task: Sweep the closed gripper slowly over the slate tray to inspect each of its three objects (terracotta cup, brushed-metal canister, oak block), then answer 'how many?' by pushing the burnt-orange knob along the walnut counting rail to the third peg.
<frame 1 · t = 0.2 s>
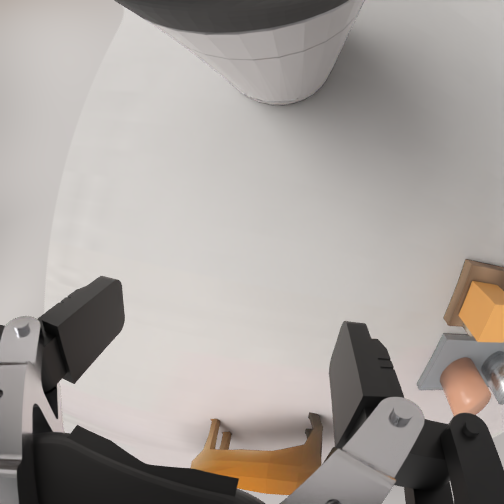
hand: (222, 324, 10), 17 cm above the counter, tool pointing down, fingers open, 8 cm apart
metal canister: (492, 363, 27), point 1 cm above the counter, touching slate tray
toy: (267, 431, 37), on the counter
slate tray: (487, 360, 28), on the counter
terracotta cup: (456, 372, 28), point 1 cm above the counter, touching slate tray
counter knob: (488, 311, 22), point 4 cm above the counter, slide at 0.0 cm
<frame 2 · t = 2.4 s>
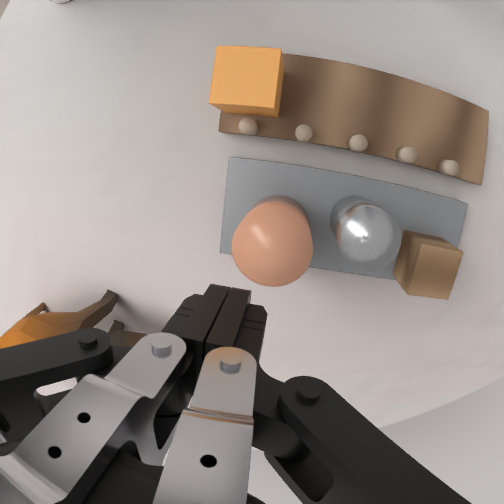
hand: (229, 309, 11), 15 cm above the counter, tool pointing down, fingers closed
oak block: (417, 255, 23), point 1 cm above the counter, touching slate tray
metal canister: (354, 220, 23), point 1 cm above the counter, touching slate tray
toy: (84, 324, 33), on the counter
slate tray: (350, 222, 24), on the counter
terracotta cup: (277, 226, 24), point 1 cm above the counter, touching slate tray
counter knob: (250, 83, 18), point 4 cm above the counter, slide at 0.0 cm
counting rail: (366, 112, 21), on the counter
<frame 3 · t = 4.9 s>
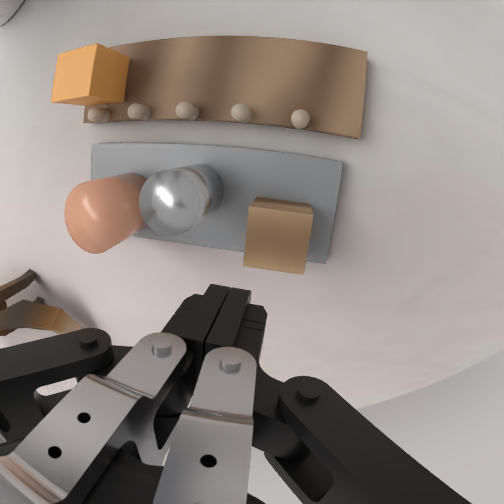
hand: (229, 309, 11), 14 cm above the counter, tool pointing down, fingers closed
oak block: (279, 225, 23), point 1 cm above the counter, touching slate tray
metal canister: (198, 190, 23), point 1 cm above the counter, touching slate tray
toy: (19, 302, 32), on the counter
slate tray: (202, 194, 24), on the counter
terracotta cup: (131, 202, 24), point 1 cm above the counter, touching slate tray
counter knob: (91, 77, 17), point 4 cm above the counter, slide at 0.0 cm
counting rail: (213, 79, 21), on the counter
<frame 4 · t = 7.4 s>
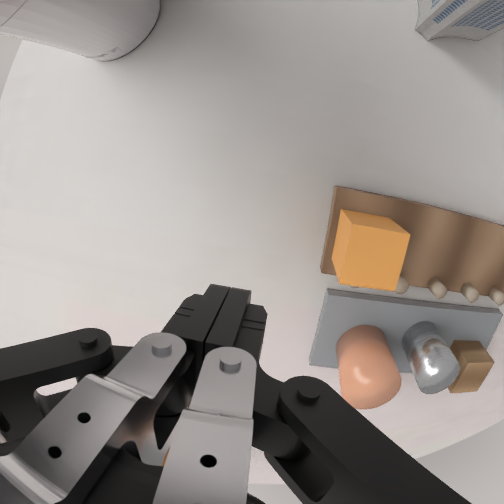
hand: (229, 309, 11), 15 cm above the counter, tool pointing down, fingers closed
oak block: (459, 355, 25), point 1 cm above the counter, touching slate tray
building model: (437, 13, 16), on the counter
metal canister: (419, 338, 25), point 1 cm above the counter, touching slate tray
slate tray: (414, 335, 26), on the counter
terracotta cup: (361, 346, 26), point 1 cm above the counter, touching slate tray
counter knob: (367, 247, 20), point 4 cm above the counter, slide at 0.0 cm
counting rail: (444, 248, 23), on the counter
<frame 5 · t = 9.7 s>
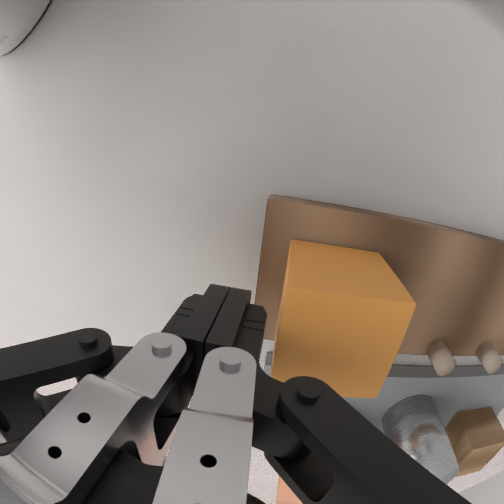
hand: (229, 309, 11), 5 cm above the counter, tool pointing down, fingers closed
oak block: (462, 425, 16), point 1 cm above the counter, touching slate tray
metal canister: (408, 414, 16), point 1 cm above the counter, touching slate tray
slate tray: (402, 407, 17), on the counter
terracotta cup: (321, 426, 17), point 1 cm above the counter, touching slate tray
counter knob: (332, 314, 11), point 4 cm above the counter, slide at 0.7 cm, touching gripper
counting rail: (456, 291, 14), on the counter
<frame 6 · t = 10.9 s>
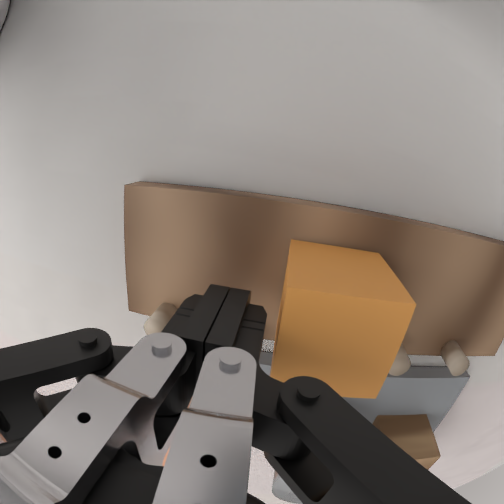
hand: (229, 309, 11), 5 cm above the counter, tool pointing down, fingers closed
oak block: (391, 432, 17), point 1 cm above the counter, touching slate tray
metal canister: (312, 411, 17), point 1 cm above the counter, touching slate tray
slate tray: (310, 403, 18), on the counter
counter knob: (332, 314, 11), point 4 cm above the counter, slide at 7.7 cm, touching gripper
counting rail: (349, 276, 15), on the counter
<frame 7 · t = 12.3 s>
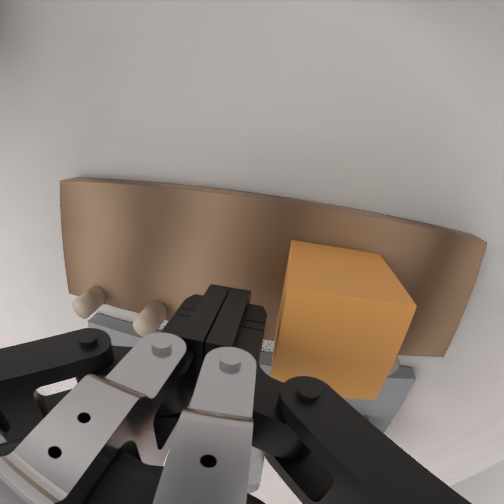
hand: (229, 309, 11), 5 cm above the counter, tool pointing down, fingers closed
metal canister: (239, 401, 17), point 1 cm above the counter, touching slate tray
slate tray: (242, 394, 18), on the counter
counter knob: (332, 315, 11), point 4 cm above the counter, slide at 12.3 cm, touching gripper
counting rail: (260, 263, 15), on the counter
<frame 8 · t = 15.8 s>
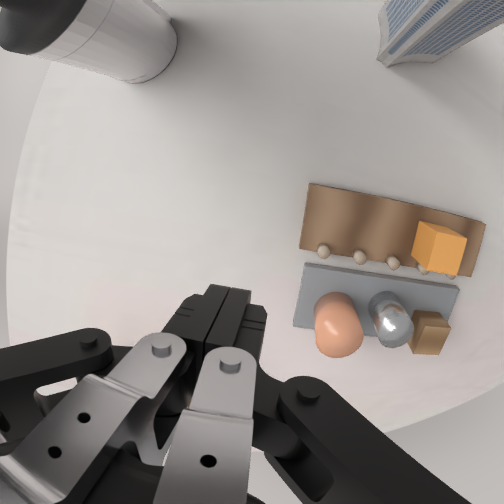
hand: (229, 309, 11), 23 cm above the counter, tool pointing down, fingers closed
oak block: (422, 324, 33), point 1 cm above the counter, touching slate tray
building model: (397, 42, 24), on the counter
metal canister: (383, 305, 33), point 1 cm above the counter, touching slate tray
slate tray: (379, 304, 35), on the counter
terracotta cup: (334, 310, 34), point 1 cm above the counter, touching slate tray
counter knob: (438, 247, 27), point 4 cm above the counter, slide at 12.3 cm
counting rail: (400, 231, 31), on the counter
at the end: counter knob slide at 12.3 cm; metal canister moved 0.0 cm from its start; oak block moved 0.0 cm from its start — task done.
